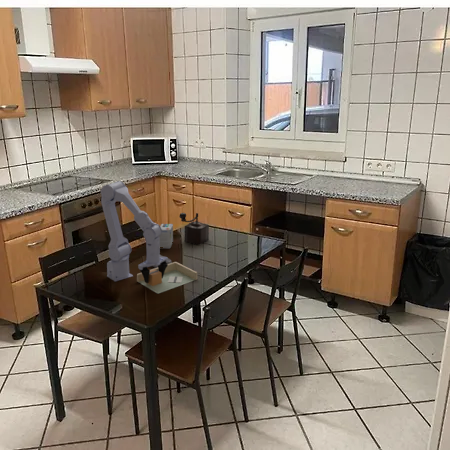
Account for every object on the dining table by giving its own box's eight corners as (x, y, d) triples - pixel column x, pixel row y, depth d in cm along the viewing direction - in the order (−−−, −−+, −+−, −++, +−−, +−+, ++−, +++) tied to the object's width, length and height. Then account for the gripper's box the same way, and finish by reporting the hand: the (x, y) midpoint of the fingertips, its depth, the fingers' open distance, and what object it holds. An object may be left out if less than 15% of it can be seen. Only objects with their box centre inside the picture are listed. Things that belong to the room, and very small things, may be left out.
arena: (157, 294, 189) (157, 286, 187) (137, 282, 200) (136, 274, 198) (197, 280, 203) (197, 272, 202) (176, 269, 214) (175, 261, 213)
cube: (152, 285, 195) (152, 275, 194) (146, 282, 199) (145, 271, 197) (161, 282, 199) (161, 272, 197) (155, 279, 202) (155, 268, 200)
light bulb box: (161, 241, 250) (161, 223, 247) (173, 241, 250) (173, 223, 247) (158, 248, 240) (157, 229, 237) (170, 248, 240) (170, 229, 237)
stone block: (159, 262, 227) (143, 263, 220) (161, 253, 226) (145, 254, 219) (174, 270, 219) (157, 272, 212) (175, 261, 218) (159, 262, 211)
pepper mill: (193, 236, 260) (193, 206, 254) (209, 239, 255) (209, 209, 249) (177, 244, 247) (177, 213, 241) (194, 248, 242) (194, 216, 236)
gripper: (144, 258, 186) (145, 287, 191) (172, 250, 196) (172, 278, 200) (135, 253, 191) (136, 282, 196) (162, 246, 201) (163, 273, 205)
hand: (153, 280), depth 198 cm, fingers open, 7 cm apart
